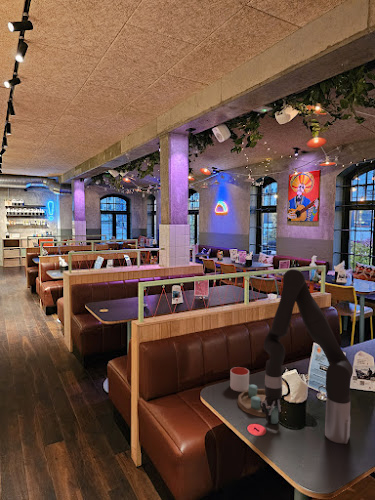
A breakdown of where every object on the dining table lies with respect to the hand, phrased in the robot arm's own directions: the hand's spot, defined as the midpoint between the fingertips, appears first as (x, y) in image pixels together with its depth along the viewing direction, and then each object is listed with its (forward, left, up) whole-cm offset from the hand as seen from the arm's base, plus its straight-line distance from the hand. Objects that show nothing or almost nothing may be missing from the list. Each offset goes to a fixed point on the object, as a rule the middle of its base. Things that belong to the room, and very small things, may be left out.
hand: (273, 420), depth 155 cm
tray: (+11, -12, -2) cm, 16 cm away
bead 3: (0, 0, 0) cm, 0 cm away
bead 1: (+16, -15, -1) cm, 22 cm away
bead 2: (+10, -5, -1) cm, 12 cm away
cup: (+27, -21, -2) cm, 34 cm away
